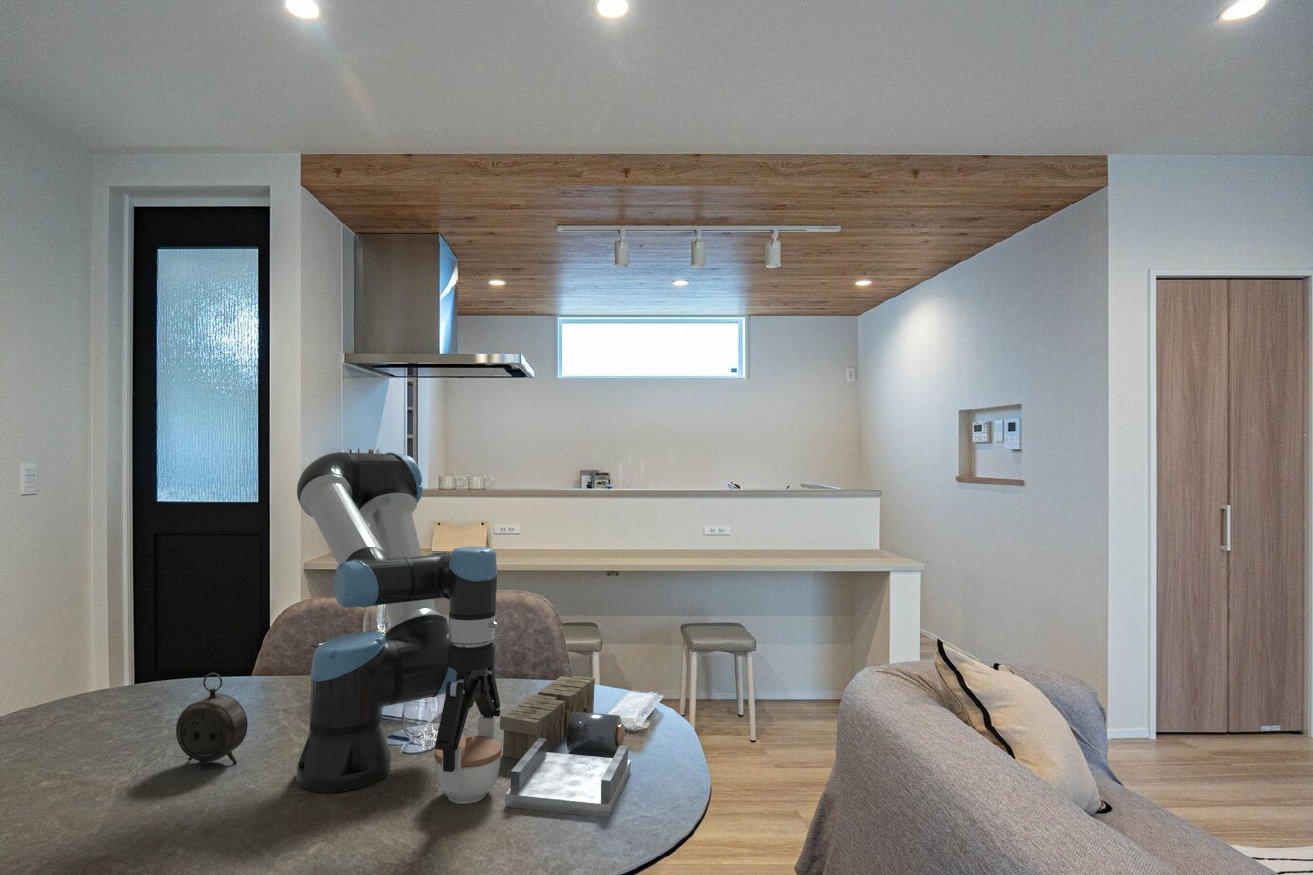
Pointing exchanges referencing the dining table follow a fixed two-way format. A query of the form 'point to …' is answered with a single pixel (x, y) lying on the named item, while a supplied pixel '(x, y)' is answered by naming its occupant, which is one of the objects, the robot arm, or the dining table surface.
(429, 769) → the dining table surface
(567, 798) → the motor cradle
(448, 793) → the lidded jar
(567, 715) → the block tower
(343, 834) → the dining table surface
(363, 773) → the robot arm
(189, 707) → the alarm clock
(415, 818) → the dining table surface
